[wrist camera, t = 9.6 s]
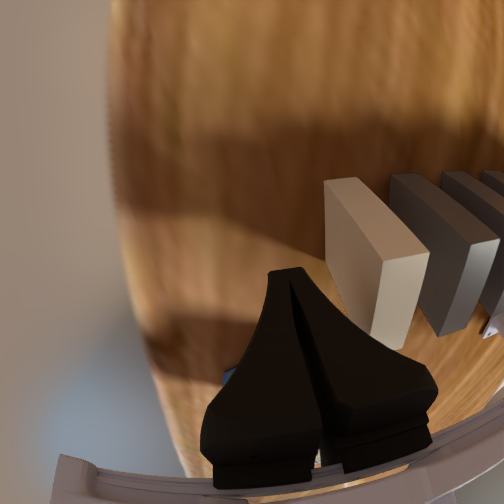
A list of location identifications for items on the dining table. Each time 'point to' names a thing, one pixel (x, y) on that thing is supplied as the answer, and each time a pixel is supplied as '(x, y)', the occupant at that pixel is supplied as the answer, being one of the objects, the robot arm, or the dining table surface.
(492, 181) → the charcoal tile
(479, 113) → the dining table surface
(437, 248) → the charcoal tile
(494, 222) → the charcoal tile
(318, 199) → the dining table surface
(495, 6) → the dining table surface
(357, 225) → the ivory tile
